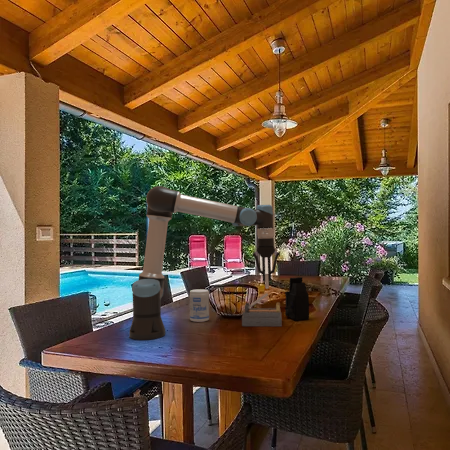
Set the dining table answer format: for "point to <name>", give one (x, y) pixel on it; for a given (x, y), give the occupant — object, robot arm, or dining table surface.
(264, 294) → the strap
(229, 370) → the dining table surface
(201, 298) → the supplement tub
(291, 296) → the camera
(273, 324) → the heatsink block
